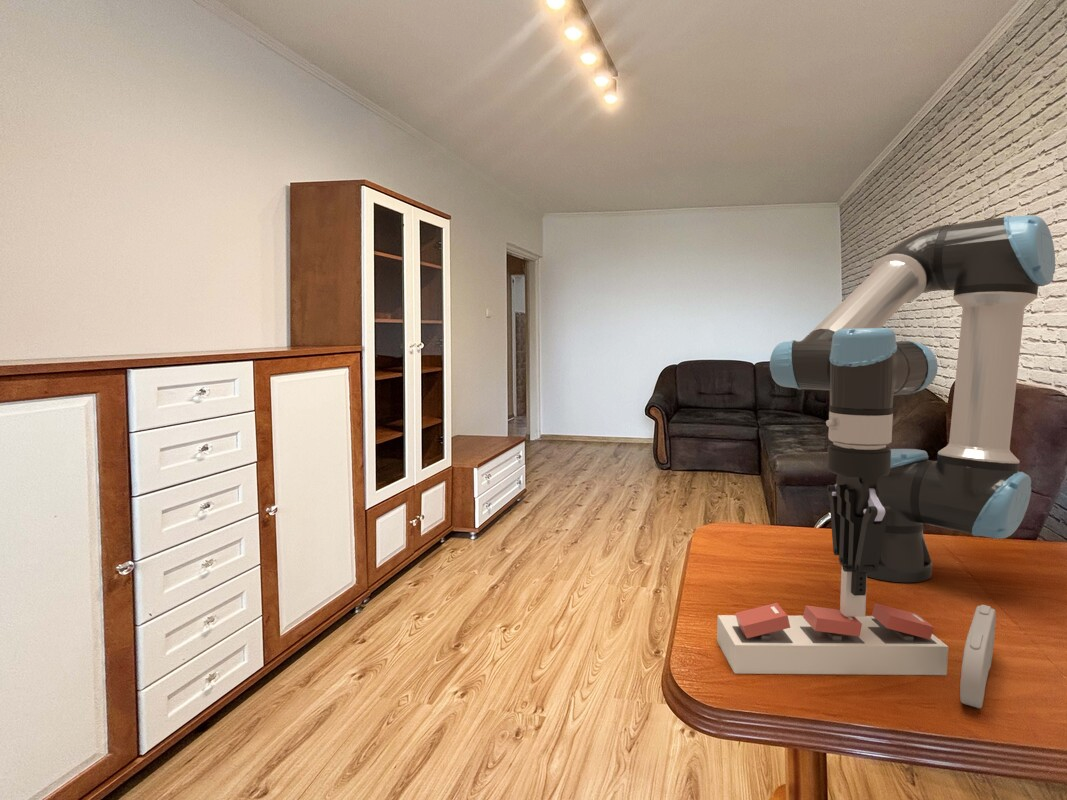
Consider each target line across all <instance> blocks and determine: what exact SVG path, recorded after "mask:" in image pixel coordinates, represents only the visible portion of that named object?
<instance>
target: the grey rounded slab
mask: <svg viewBox="0 0 1067 800" xmlns="http://www.w3.org/2000/svg"><path fill="white" fill-rule="evenodd" d="M996 615H997V614H996V610H995V609H994V608H992V607H991V606H990V605H986V604H980V605H977V606H976V608H975V610H974V614H973V618H972V621H971V624H970V627H969V629H968V633H967V637H966V640H965V644H964V649H963V654H962V663H961V664H962V665H961V669H960V676H959V679H960V686H959V688H960V689H959V697H960V700H959V701H960V703H962V704H964V705H967V706H970V707H974V708H976V709H982V707H983V703H984V698H985V693H986V692H985V691H986V684H987V682H988V681H987V680H988V676H989V672H990V669H991V667H992V661H993V654H994V648H995V647H994V646H995V645H994V644H995V636H996V635H995V633H996V622H997V621H996V618H997V617H996Z"/></svg>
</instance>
